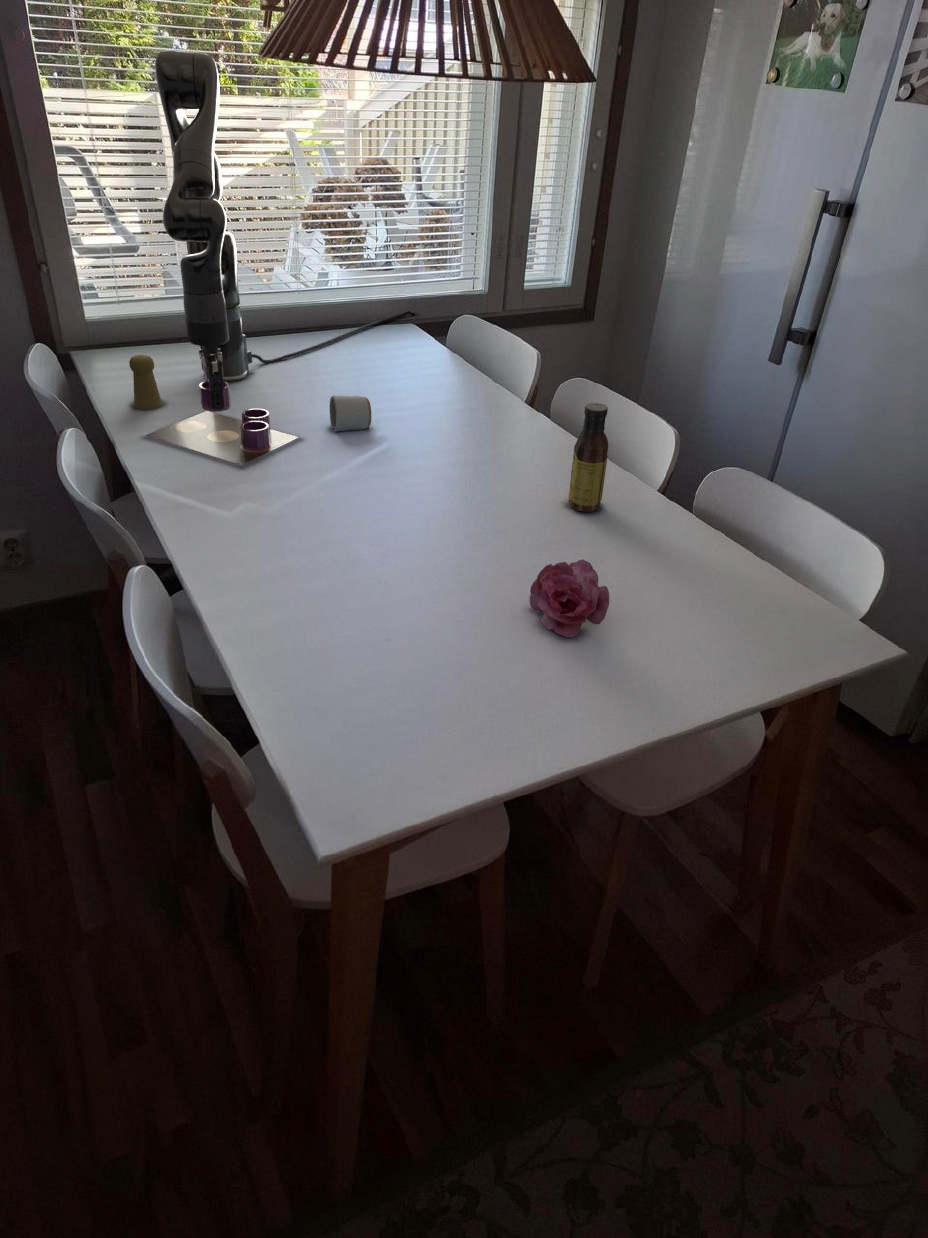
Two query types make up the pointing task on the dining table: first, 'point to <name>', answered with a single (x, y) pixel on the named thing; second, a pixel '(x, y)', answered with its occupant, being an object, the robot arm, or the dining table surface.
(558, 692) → the dining table surface
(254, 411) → the plum dish
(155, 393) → the yellow pawn figure
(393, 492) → the dining table surface
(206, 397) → the plum dish
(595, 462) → the sauce bottle
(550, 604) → the flower
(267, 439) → the plum dish
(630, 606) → the dining table surface
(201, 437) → the metal board
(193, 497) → the dining table surface
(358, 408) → the ceramic mug
